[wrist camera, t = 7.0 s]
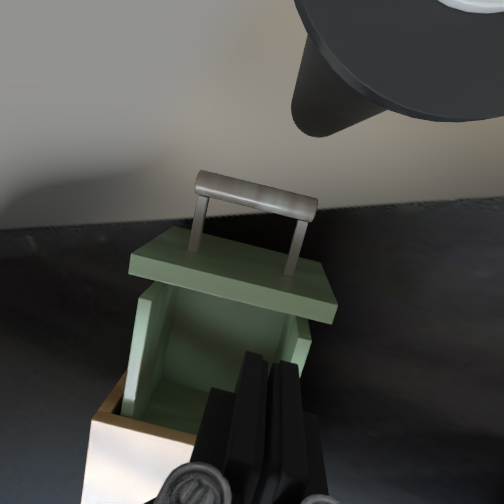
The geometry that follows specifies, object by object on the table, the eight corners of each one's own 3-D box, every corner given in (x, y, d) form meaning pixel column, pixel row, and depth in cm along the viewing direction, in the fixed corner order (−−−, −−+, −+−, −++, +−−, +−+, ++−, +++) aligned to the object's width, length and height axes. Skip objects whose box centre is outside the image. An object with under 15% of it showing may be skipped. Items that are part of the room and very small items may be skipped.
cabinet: (149, 337, 29) (91, 419, 20) (291, 373, 29) (298, 471, 20) (127, 467, 33) (69, 584, 24) (252, 498, 33) (242, 629, 24)
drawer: (185, 160, 24) (144, 160, 17) (340, 198, 24) (368, 216, 17) (147, 375, 29) (102, 449, 22) (275, 408, 29) (275, 493, 22)
